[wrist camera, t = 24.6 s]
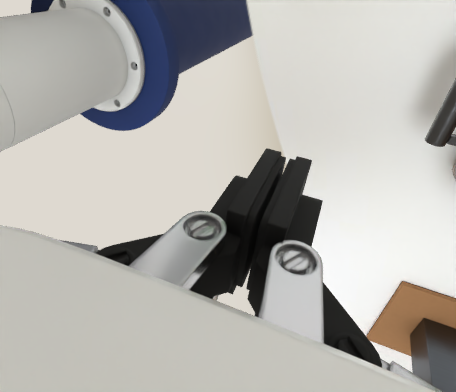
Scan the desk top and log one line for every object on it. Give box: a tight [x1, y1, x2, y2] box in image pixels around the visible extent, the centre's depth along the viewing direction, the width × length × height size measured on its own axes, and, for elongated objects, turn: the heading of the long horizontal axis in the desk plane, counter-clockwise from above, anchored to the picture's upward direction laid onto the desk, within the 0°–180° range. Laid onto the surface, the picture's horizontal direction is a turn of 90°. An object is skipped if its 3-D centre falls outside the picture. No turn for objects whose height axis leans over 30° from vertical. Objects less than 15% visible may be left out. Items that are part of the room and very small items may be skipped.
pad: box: [367, 281, 456, 356], centre depth 40 cm, size 12×12×1 cm
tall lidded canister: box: [410, 318, 456, 392], centre depth 36 cm, size 5×4×10 cm
